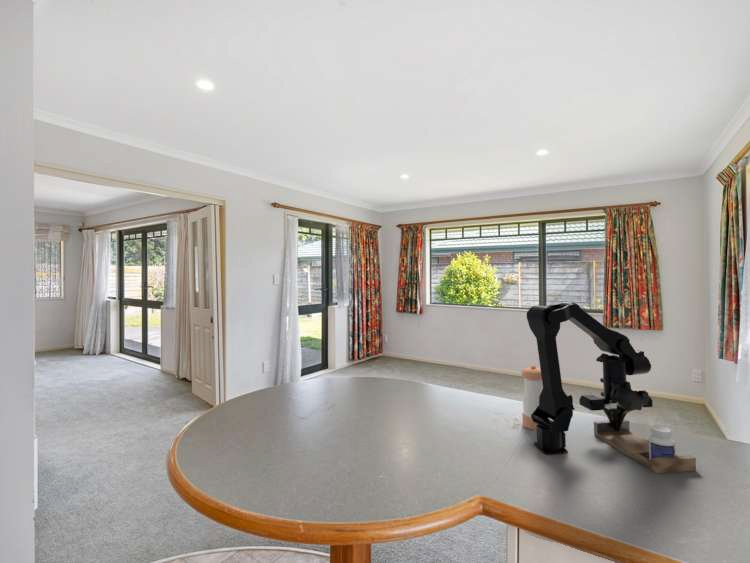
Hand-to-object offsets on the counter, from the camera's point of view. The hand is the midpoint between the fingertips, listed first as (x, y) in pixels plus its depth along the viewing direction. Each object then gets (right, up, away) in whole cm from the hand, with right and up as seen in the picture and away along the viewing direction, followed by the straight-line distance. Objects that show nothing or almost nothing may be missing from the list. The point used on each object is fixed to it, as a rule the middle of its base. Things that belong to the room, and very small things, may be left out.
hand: (616, 430), depth 110 cm
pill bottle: (+2, -3, -15) cm, 16 cm away
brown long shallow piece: (+1, -2, -8) cm, 9 cm away
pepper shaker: (-19, -3, +11) cm, 22 cm away
